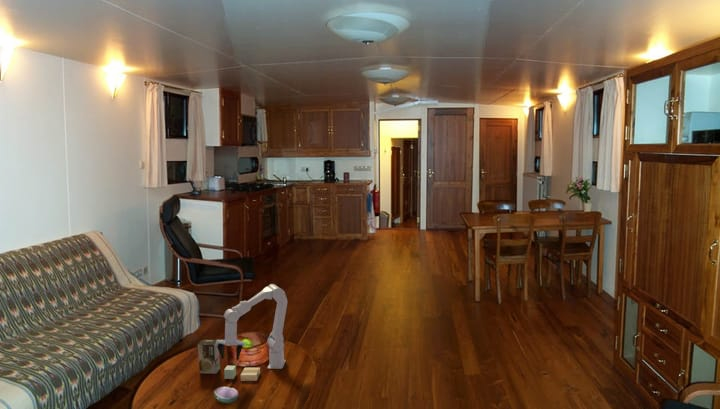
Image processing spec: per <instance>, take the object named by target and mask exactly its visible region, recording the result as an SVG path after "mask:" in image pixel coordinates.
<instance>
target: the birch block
mask: <svg viewBox="0 0 720 409" xmlns="http://www.w3.org/2000/svg"><path fill="white" fill-rule="evenodd" d="M260 374H261V367H244V368H243V370H242V371H241V373H240V381H241V382H257V380H258V379H259V378H260V377H259V376H260Z"/></svg>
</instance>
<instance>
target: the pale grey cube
mask: <svg viewBox="0 0 720 409" xmlns="http://www.w3.org/2000/svg"><path fill="white" fill-rule="evenodd" d="M223 371H224V380H227V379H228V380H234V379H235V377H236V376H237V365H226V367H225V368H224V370H223Z"/></svg>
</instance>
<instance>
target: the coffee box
mask: <svg viewBox="0 0 720 409" xmlns="http://www.w3.org/2000/svg"><path fill="white" fill-rule="evenodd" d="M217 340H218V339H201V340H200V341H199V343H197V351H198V352H197V353H198V363H199V364H198V367H199V373H200V374H214V375H215V374H217V373H218V372H219V371H220V369H221V365H220V364H221V362H220V359H221V358H220V352H219V350H218V348H217V347H218V345H216V341H217Z"/></svg>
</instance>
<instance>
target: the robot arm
mask: <svg viewBox="0 0 720 409" xmlns="http://www.w3.org/2000/svg"><path fill="white" fill-rule="evenodd" d="M265 299H266V300H273V299H274V301H275V302H276V308H275V314H274V318H273V324H272V325H273V326H272V331H271V332H270V333H269V336H268V338H267V340H266V342H267V346H269V348H268V353H269V354H268V357H269V358H268V359H269V364H268V366H267V369H268V370H269V369H272V370H273V369H274V370H275V369H277V370H279V369H280V370H281V369H283V368H284V366H285V363H286V362H287V361H286V359H285V358H284V357H285V351H284V348H285V341H284V339H285V338H284V335H283V334H284V333H283V331H284V330H283V329H284V325H285V318H286V315H287V307H288V298H287V295H286V292H285V290H284V289H283V288H281V287H279V286H277V284H275V283H270V284H269V285H268V286H265V287H264V288H263V289H262V290H261V291H260V292H258V293H256V294H255V295H254V296H253V297H251V298H250V299H248V300H243V301H242V300H241V301H239V303H238V304H236V305H235V306H232V307H231V308H228V309H227V310H225V312H224V314H223V317H224V319H225V321H224V322H225V324H224V326H225V327H224V339H216V340H217V341H216V345H218V347H217V348H218V350H219V355H220V356H221V357H220V359H221V360H224V358H225V347H226V346H229V347H231V346H236V348H235V350H236V361H239V359H240V355H241V352H242V349H243V348H244V347H246V341H242V340H238V338H237V336H238V335H237V333H238V330H237V328H238V324H237V323H238V321H239V319H240V317H242V316H243V315H245V314H246V313H248V312H250V311H251V309H252V307H253V306H256V305H257V304H258V303H260V302H262V301H263V300H265Z"/></svg>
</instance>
